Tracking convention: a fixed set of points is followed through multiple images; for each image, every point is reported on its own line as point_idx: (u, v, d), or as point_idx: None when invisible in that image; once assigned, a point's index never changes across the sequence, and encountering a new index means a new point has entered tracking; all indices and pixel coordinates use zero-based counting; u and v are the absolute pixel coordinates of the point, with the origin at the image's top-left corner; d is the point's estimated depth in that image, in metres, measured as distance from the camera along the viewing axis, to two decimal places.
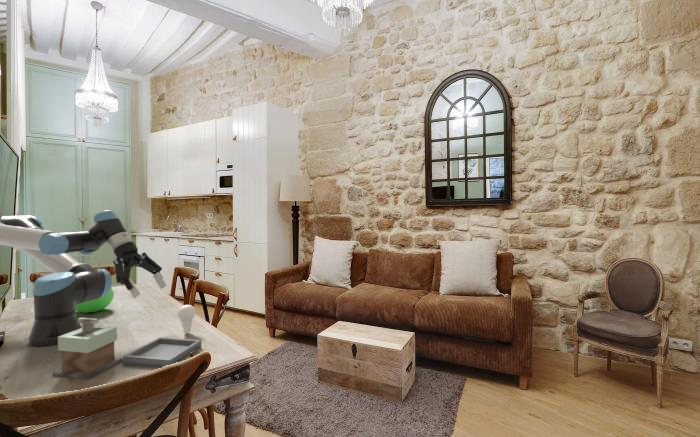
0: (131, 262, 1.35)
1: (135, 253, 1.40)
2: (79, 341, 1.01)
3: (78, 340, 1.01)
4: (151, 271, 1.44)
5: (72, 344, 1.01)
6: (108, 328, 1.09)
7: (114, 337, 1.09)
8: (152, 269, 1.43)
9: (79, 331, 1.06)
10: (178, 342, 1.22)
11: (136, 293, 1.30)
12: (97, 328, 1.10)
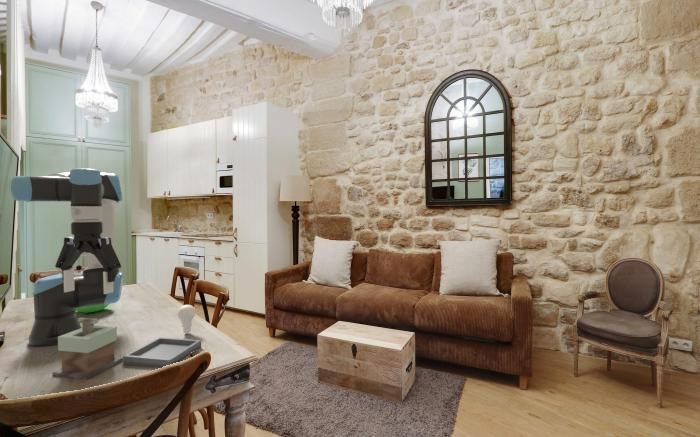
0: (74, 249, 1.04)
1: (90, 236, 1.04)
2: (79, 341, 1.01)
3: (78, 340, 1.01)
4: None
5: (72, 344, 1.01)
6: (108, 328, 1.09)
7: (114, 337, 1.09)
8: None
9: (79, 331, 1.06)
10: (178, 342, 1.22)
11: None
12: (97, 328, 1.10)
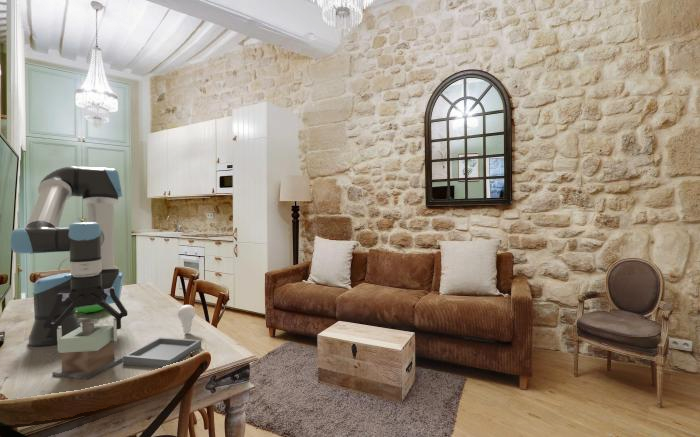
0: (75, 304, 1.03)
1: (95, 289, 1.06)
2: (86, 340, 1.01)
3: (85, 339, 1.01)
4: None
5: (77, 344, 1.01)
6: (107, 327, 1.10)
7: (113, 335, 1.11)
8: (111, 313, 1.09)
9: (77, 332, 1.05)
10: (178, 342, 1.22)
11: None
12: None
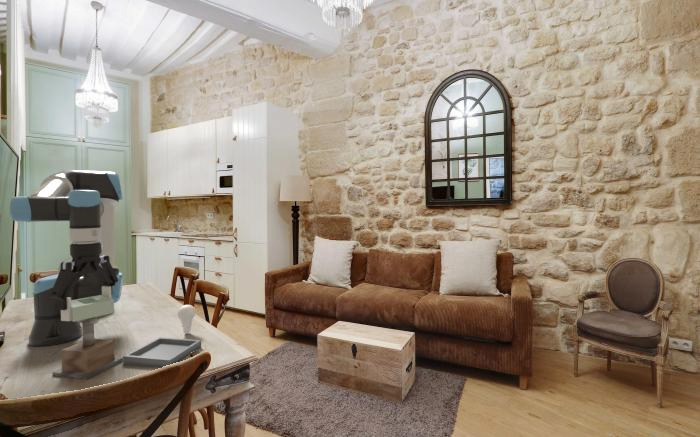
0: (83, 272, 1.02)
1: (95, 256, 1.07)
2: (103, 304, 1.04)
3: (102, 303, 1.04)
4: (103, 281, 1.12)
5: (94, 309, 1.03)
6: (97, 296, 1.11)
7: None
8: (105, 280, 1.11)
9: (76, 303, 1.03)
10: (178, 342, 1.22)
11: (66, 317, 0.99)
12: (81, 300, 1.07)
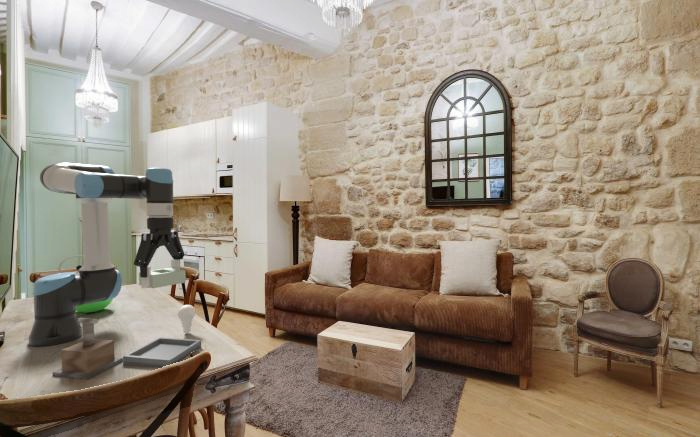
0: (159, 243, 1.11)
1: (168, 230, 1.16)
2: (177, 273, 1.13)
3: (176, 273, 1.12)
4: (172, 255, 1.20)
5: (169, 278, 1.11)
6: (168, 268, 1.19)
7: None
8: (174, 254, 1.20)
9: (153, 272, 1.11)
10: (178, 342, 1.22)
11: (147, 285, 1.07)
12: (155, 271, 1.16)
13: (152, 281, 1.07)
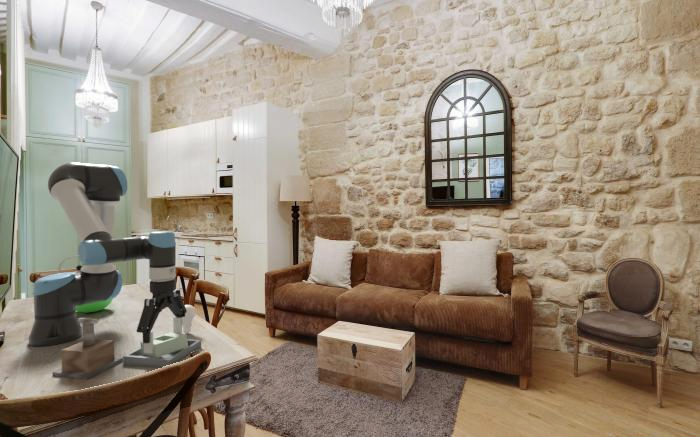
0: (162, 307, 1.12)
1: (170, 291, 1.17)
2: (179, 339, 1.14)
3: (178, 339, 1.14)
4: (174, 313, 1.21)
5: (172, 345, 1.12)
6: (168, 333, 1.20)
7: None
8: (177, 312, 1.21)
9: (155, 341, 1.13)
10: None
11: (149, 350, 1.08)
12: (156, 338, 1.17)
13: (155, 351, 1.08)
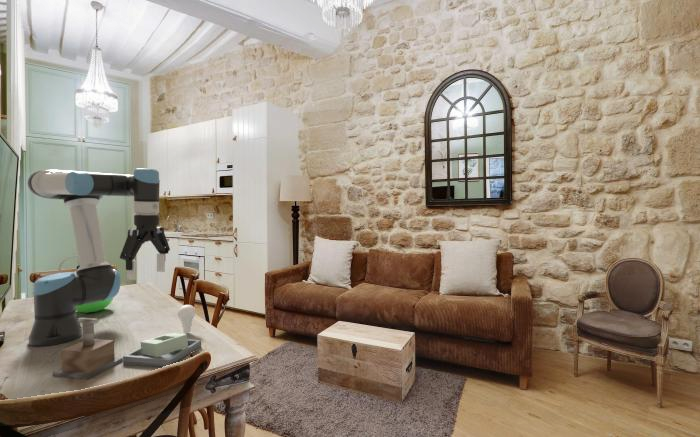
0: (145, 239, 1.19)
1: (154, 227, 1.24)
2: (179, 339, 1.14)
3: (178, 339, 1.14)
4: (158, 249, 1.28)
5: (172, 345, 1.12)
6: (169, 334, 1.20)
7: None
8: (160, 248, 1.28)
9: (155, 340, 1.13)
10: None
11: (132, 277, 1.16)
12: (156, 338, 1.17)
13: (155, 350, 1.08)
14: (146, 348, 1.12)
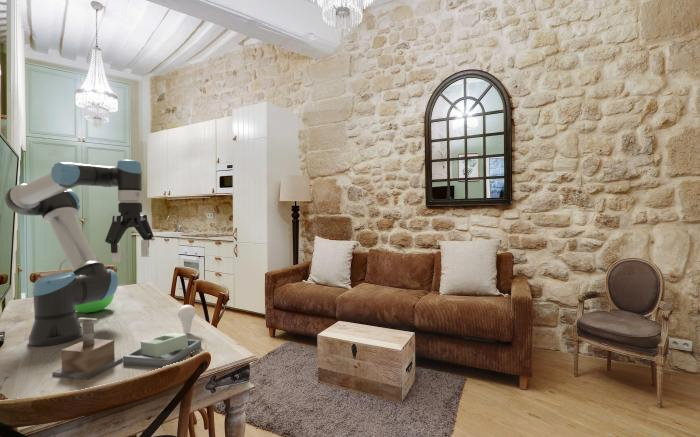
0: (129, 225, 1.29)
1: (137, 214, 1.34)
2: (179, 339, 1.14)
3: (178, 339, 1.14)
4: (142, 235, 1.38)
5: (172, 345, 1.12)
6: (169, 334, 1.20)
7: None
8: (144, 235, 1.38)
9: (155, 340, 1.13)
10: None
11: (117, 259, 1.25)
12: (156, 338, 1.17)
13: (155, 350, 1.08)
14: (146, 348, 1.12)
